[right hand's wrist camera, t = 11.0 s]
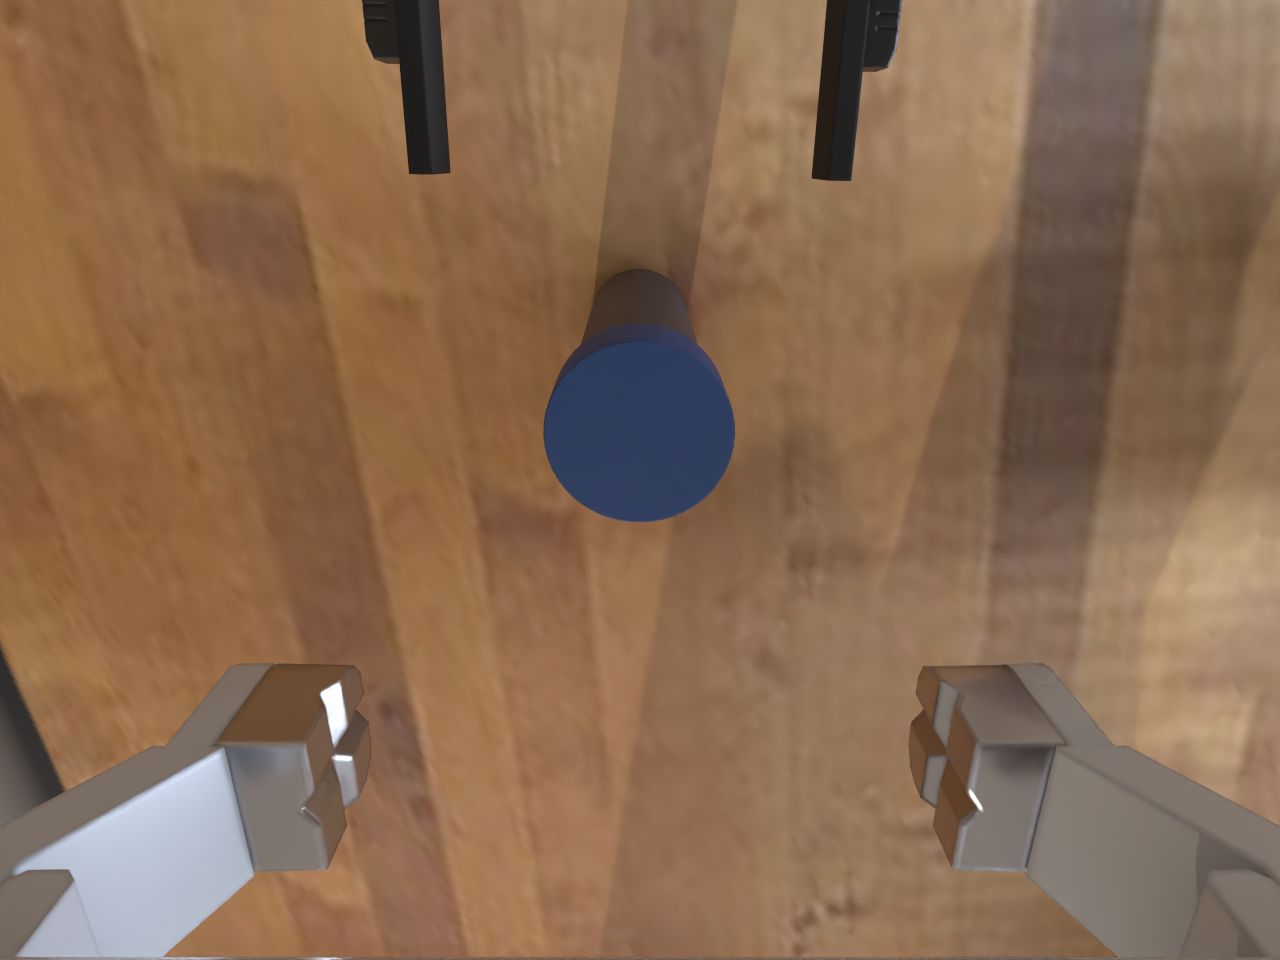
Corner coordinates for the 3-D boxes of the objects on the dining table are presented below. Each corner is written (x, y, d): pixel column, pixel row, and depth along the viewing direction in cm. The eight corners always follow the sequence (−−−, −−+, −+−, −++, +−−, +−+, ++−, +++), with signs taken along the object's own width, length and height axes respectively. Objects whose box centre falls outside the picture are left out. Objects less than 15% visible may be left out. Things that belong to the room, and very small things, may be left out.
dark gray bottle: (679, 369, 36) (706, 512, 22) (587, 358, 36) (552, 495, 22) (693, 275, 35) (732, 361, 20) (596, 263, 34) (566, 341, 20)
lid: (711, 498, 24) (718, 532, 21) (545, 479, 23) (536, 511, 21) (739, 334, 22) (750, 353, 20) (560, 311, 22) (551, 329, 19)
